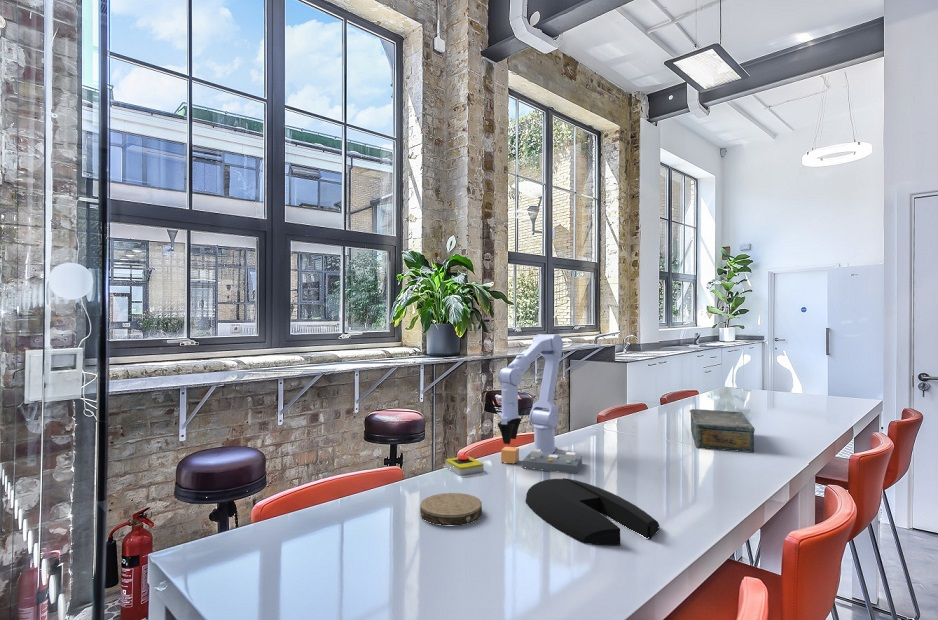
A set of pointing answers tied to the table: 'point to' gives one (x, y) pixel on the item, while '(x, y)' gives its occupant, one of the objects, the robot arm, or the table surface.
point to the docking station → (587, 511)
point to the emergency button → (465, 466)
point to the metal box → (721, 430)
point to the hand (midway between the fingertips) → (509, 441)
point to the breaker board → (553, 461)
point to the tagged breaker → (553, 457)
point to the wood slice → (451, 509)
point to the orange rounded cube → (510, 454)
